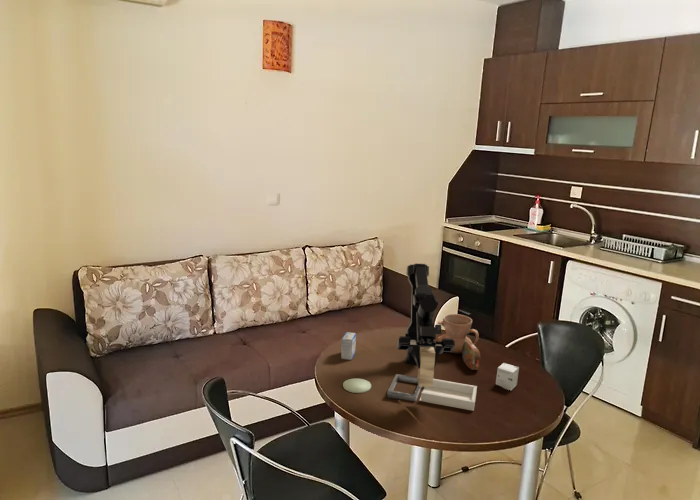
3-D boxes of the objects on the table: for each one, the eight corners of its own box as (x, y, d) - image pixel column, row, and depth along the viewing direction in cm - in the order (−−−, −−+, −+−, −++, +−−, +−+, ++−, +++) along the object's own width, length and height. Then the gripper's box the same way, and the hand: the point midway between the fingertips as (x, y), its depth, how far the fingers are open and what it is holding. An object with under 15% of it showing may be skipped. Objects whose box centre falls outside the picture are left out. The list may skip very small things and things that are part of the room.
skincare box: (495, 386, 187) (497, 367, 186) (501, 380, 192) (503, 362, 191) (511, 391, 184) (513, 372, 182) (517, 385, 189) (519, 366, 187)
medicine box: (351, 360, 204) (352, 340, 203) (340, 359, 205) (341, 338, 203) (355, 352, 212) (356, 332, 210) (344, 351, 213) (345, 331, 211)
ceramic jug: (429, 350, 217) (432, 318, 214) (442, 339, 229) (445, 309, 226) (470, 362, 208) (473, 329, 205) (481, 350, 220) (485, 319, 216)
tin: (460, 357, 211) (462, 338, 210) (468, 357, 212) (470, 338, 210) (472, 373, 197) (474, 353, 195) (480, 373, 197) (482, 353, 195)
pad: (348, 377, 189) (348, 376, 189) (374, 382, 186) (374, 381, 186) (339, 390, 180) (339, 388, 180) (366, 395, 177) (366, 393, 177)
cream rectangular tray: (425, 386, 185) (425, 377, 184) (476, 395, 180) (477, 386, 179) (419, 402, 174) (420, 392, 173) (473, 412, 168) (474, 402, 168)
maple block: (417, 379, 173) (420, 346, 171) (430, 380, 173) (433, 347, 171) (419, 386, 169) (421, 352, 166) (432, 386, 169) (435, 352, 166)
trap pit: (395, 380, 189) (396, 373, 188) (422, 384, 186) (423, 378, 185) (387, 397, 176) (387, 390, 175) (415, 403, 173) (416, 396, 172)
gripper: (400, 313, 170) (400, 358, 162) (456, 316, 170) (459, 361, 162) (397, 327, 180) (397, 370, 171) (450, 329, 179) (453, 373, 171)
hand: (426, 368), depth 168 cm, fingers closed on maple block, 4 cm apart
